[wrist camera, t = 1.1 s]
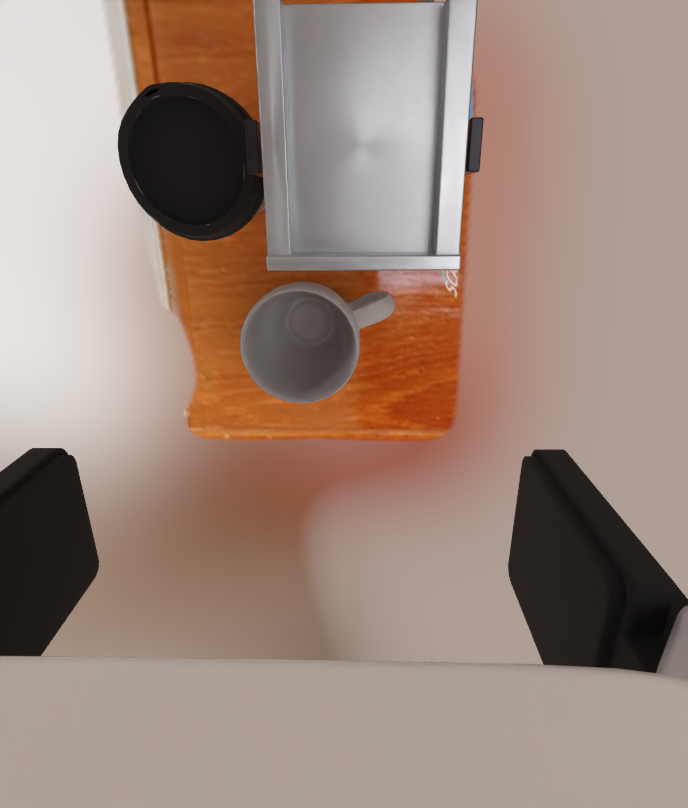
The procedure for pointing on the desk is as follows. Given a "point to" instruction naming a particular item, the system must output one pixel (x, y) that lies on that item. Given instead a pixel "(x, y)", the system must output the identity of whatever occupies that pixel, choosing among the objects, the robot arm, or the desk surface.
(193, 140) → the coffee cup
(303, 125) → the silver letter tray
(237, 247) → the desk surface
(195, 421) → the desk surface
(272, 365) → the mug
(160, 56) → the desk surface
